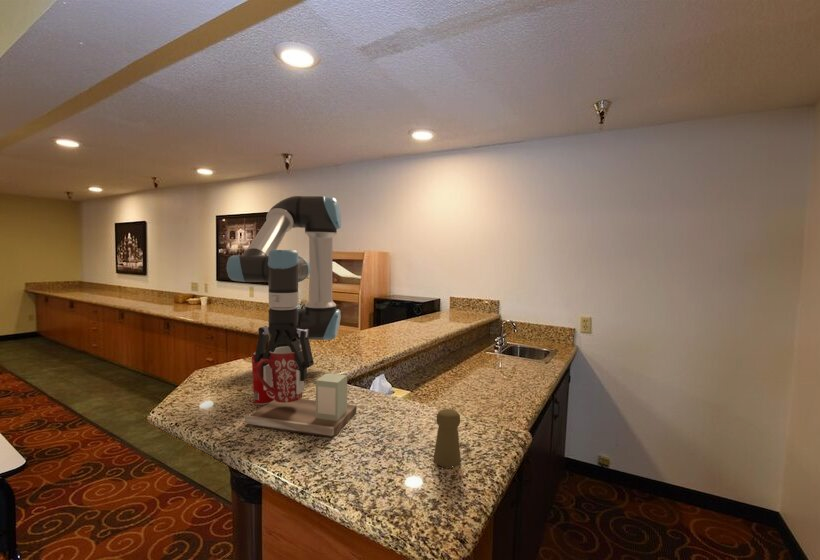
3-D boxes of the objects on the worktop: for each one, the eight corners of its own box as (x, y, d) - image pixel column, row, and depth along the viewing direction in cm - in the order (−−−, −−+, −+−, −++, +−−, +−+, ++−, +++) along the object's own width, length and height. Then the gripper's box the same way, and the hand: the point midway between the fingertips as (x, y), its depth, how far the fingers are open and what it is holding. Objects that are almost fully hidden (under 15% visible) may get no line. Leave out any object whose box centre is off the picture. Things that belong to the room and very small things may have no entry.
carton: (326, 409, 105) (326, 373, 105) (346, 411, 104) (347, 375, 103) (315, 418, 99) (315, 380, 99) (337, 421, 98) (337, 382, 97)
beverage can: (267, 406, 111) (267, 355, 110) (247, 404, 112) (247, 353, 111) (278, 399, 117) (278, 350, 116) (259, 396, 118) (259, 348, 117)
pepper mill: (431, 452, 88) (432, 405, 87) (457, 452, 88) (459, 405, 87) (435, 467, 82) (436, 417, 81) (463, 467, 82) (465, 416, 81)
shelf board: (279, 402, 114) (279, 394, 114) (356, 412, 108) (356, 403, 108) (244, 426, 98) (244, 416, 98) (332, 439, 93) (332, 428, 93)
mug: (299, 390, 112) (297, 343, 111) (310, 398, 105) (308, 349, 104) (254, 400, 105) (251, 351, 104) (262, 410, 97) (259, 357, 97)
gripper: (238, 307, 102) (239, 390, 103) (314, 312, 97) (314, 399, 98) (256, 303, 109) (256, 381, 111) (327, 308, 104) (327, 389, 106)
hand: (283, 390), depth 105 cm, fingers closed on mug, 9 cm apart
